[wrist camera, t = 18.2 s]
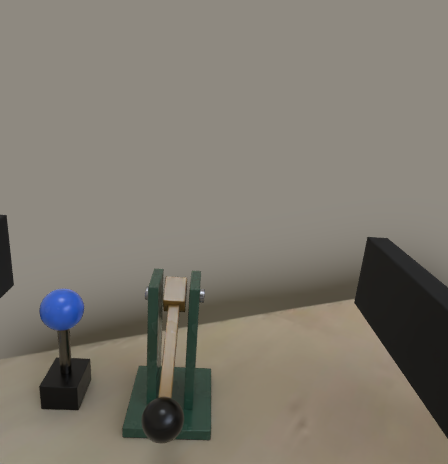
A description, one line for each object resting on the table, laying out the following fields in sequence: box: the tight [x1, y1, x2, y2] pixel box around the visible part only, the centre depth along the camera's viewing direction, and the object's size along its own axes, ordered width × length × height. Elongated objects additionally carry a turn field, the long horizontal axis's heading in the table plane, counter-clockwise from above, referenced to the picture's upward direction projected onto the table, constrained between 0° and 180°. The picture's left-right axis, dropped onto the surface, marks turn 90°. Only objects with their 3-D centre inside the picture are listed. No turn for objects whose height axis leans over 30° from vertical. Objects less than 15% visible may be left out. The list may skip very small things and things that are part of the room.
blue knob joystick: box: [39, 289, 91, 410], centre depth 44 cm, size 4×5×13 cm
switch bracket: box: [122, 269, 211, 440], centre depth 44 cm, size 10×9×16 cm
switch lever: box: [141, 277, 187, 443], centre depth 38 cm, size 15×4×4 cm
